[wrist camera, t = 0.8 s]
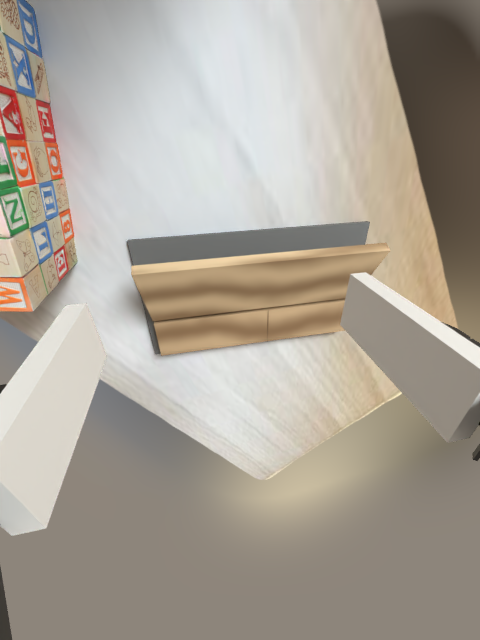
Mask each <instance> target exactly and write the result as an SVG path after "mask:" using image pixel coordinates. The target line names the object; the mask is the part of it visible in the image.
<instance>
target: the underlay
mask: <svg viewBox="0 0 480 640" xmlns="http://www.w3.org/2000/svg"><path fill="white" fill-rule="evenodd" d="M369 224H370V222H368V221H365V222H352V223H339V224H326V225H313V226H300V227H287V228H274V229H261V230H248V231H235V232H223V233H210V234H197V235H184V236H171V237H158V238H145V239H132V240H127V242H128V246H129V250H130V254H131V258H132V262H133V266H135V265H146V264H157V263H168V262H179V261H190V260H201V259H212V258H223V257H234V256H245V255H256V254H268V253H279V252H290V251H301V250H312V249H323V248H334V247H345V246H356V245H365V242H366V238H367V233H368V229H369ZM141 298H142V297H141ZM142 302H143V306H144V310H145V314H146V318H147V322H148V326H149V330H150V334H151V338H152V342H153V346H154V350H155V353H156V354H160V353H161V352H160V348H159V344H158V339H157V335H156V331H155V327H154V321H153V320H152V318H151V316H150V314H149V312H148V310H147V307H146V305H145V303H144V301H143V299H142Z"/></svg>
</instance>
